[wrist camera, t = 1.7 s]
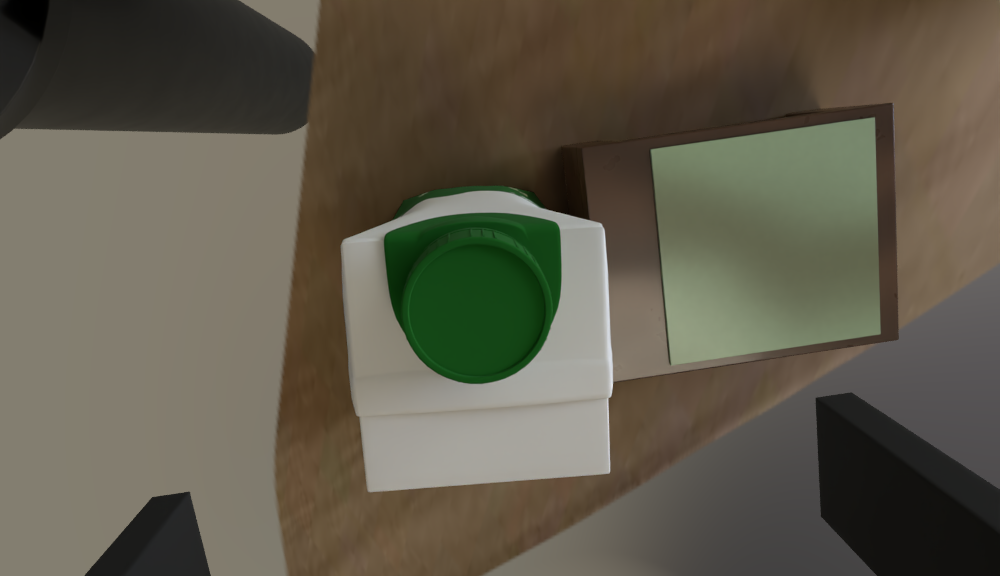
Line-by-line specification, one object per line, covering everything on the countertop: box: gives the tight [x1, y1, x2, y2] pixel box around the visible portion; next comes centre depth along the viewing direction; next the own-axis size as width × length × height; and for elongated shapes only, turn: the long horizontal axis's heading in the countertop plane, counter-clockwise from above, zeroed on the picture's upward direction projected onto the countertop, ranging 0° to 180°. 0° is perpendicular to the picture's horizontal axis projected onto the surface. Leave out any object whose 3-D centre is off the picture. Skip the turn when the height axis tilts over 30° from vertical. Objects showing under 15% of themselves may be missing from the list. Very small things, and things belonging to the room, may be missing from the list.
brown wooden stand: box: [561, 103, 899, 383], centre depth 35 cm, size 11×14×7 cm
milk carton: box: [340, 186, 613, 492], centre depth 29 cm, size 9×9×20 cm
